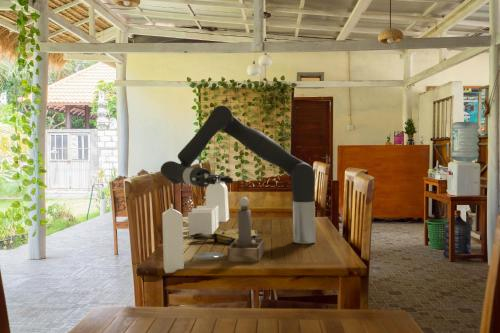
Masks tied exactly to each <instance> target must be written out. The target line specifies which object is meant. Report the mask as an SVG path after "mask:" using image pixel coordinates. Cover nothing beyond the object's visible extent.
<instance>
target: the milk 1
mask: <svg viewBox="0 0 500 333" xmlns="http://www.w3.org/2000/svg"><path fill="white" fill-rule="evenodd" d="M161 216H162V218H161V219H162V246H163V247H162V250H163V251H162V252H163V270H164V272H165V274H171V273H172V274H173V273H175V272H176V271H178V270H183V269H185V266H184V264H185V261H184V259H185V258H184V257H185V256H184V226H183V225H184V224H183V222H184V221H183V220H184V219H183V214H182V213H181V212H180V211H179V210H176V209H174V204H173V203H170V207H169V208H168V209H167V210H164V212H162V214H161Z"/></svg>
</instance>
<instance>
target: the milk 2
mask: <svg viewBox="0 0 500 333" xmlns="http://www.w3.org/2000/svg"><path fill="white" fill-rule="evenodd" d="M216 177H218V176H216ZM216 182H218V179H217V181H216ZM228 191H229V190H228V186H227V184H226V183H220V184H217V183H215V184H208V185H207V186H206V187H205V206H218V221H219V223H227V222H228V221H229V219H230V210H229V192H228Z"/></svg>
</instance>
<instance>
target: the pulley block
mask: <svg viewBox="0 0 500 333" xmlns="http://www.w3.org/2000/svg"><path fill="white" fill-rule="evenodd" d="M258 233H260V234H261V233H263V231H257V229H256V228H254V229H251V238H259V234H258ZM236 238H238V228H232V229H216V230H215V231H214V233H213V234H210V233H197V234H194V235H193V236H192V240H194V241H195V240H196V241H208V240H213V242H214V243H220V244H225V245H231V244H232V242H233V241H234V240H235V239H236Z"/></svg>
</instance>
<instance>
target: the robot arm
mask: <svg viewBox="0 0 500 333" xmlns="http://www.w3.org/2000/svg"><path fill="white" fill-rule="evenodd" d="M219 131H222V132H223V133H226V134H227V135H229V136H231V137H232V138H233V139H236V140H237V141H238V142H239V143H240V144H241V145H242V146H244V147H245V148H246V149H248V150H250V151H251V153H252V154H254V155H256V156H258V157H259V158H261V159H262V160H263V161H266V162H268V163H270V164H272V165H274V166H276V167H278V168H279V169H281V170H282V171H284V172H285V173H287V174H288V175H289V176H290V177H291V188H292V191H291V193H292V222H293V223H292V229H293V230H292V231H293V232H292V233H293V237H292V238H293V243H296V244H300V245H301V244H304V245H305V244H316V205H315V202H316V199H315V198H316V196H315V195H316V190H315V188H316V187H315V186H316V185H315V180H316V179H315V171H314V168H313V167H312V165H310V164H309V163H307V162H305V161H303V160H301V159H299V158H297V157H296V156H293V155H292V154H291V153H290V152H288V151H287V150H286V149H285V148H284V147H283V146H282V145H280V144H279V143H277V142H276V141H275V140H274V139H272V138H270V137H269V136H268V135H267V134H265V133H263V132H262V131H259V130H258V129H255V128H252V127H250V126H248V125H246V124H244V123H243V122H241V120H239V119H238V118H236V117H235V116H234V115H233V113H232V110H231V109H230V108H229V107H228V106H226V105H224V104H223V105H222V104H221V105H217V106H216V107H214V109H212V111H211V113H210V114H209V116H208V117H207V119H206V120H205V122H204V124H203V125H202V126H201V128H200V129H199V130H198V131H197V133H195V135H194V136H193V137H192V138H191V139H190V140H189V142H187V144H185V145H184V147H182V149H181V150H180V151H179V153H178V154H177V158H178V161H179V162H180V163H179V162H176V161H172V160H168V161H165V162H164V163H163V164H162V165H161V166H160V174H161V175H162V176H163V177H164V178H165V179H167V180H168V181H169V182H170V183H171V184H174V185H178V184H180V183H182V184H185V185H186V184H187V185H190V186H193V187H198V188H207V187H208V186H209V185H210V184H215V183H217V184H220V183H224V184H233V183H234V181H233V180H234V178H233V177H230V176H229V175H225V174H224V175H223V174H219V173H216V174H215V173H211V172H210V170H209V169H208V168H205V167H198V166H192V164H193V163H194V162H195V161H196V160H197V158H199V156H200V155H201V154H202V153H203V152H204V150H205V148H206V147H207V145H208V144H209V142H210V141H211V140H212V138H213V137H214V136H215V135H216V134H217V133H218V132H219ZM216 176H218V177H216ZM217 179H218V182H216V181H217Z"/></svg>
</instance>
